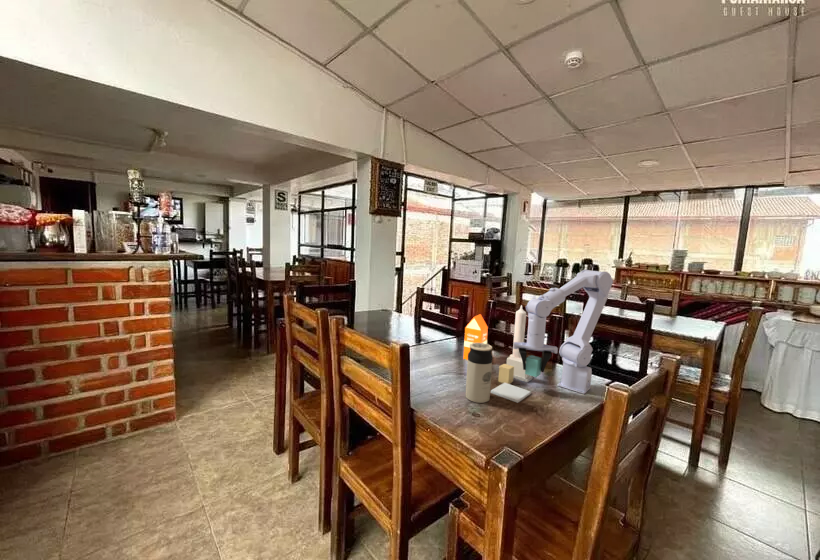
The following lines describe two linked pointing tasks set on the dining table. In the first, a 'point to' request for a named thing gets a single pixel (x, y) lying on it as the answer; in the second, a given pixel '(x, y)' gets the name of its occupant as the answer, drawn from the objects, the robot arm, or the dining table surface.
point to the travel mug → (479, 372)
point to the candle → (519, 330)
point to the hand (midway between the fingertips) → (533, 370)
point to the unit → (518, 369)
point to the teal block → (533, 366)
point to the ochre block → (506, 373)
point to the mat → (511, 392)
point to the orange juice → (475, 333)
